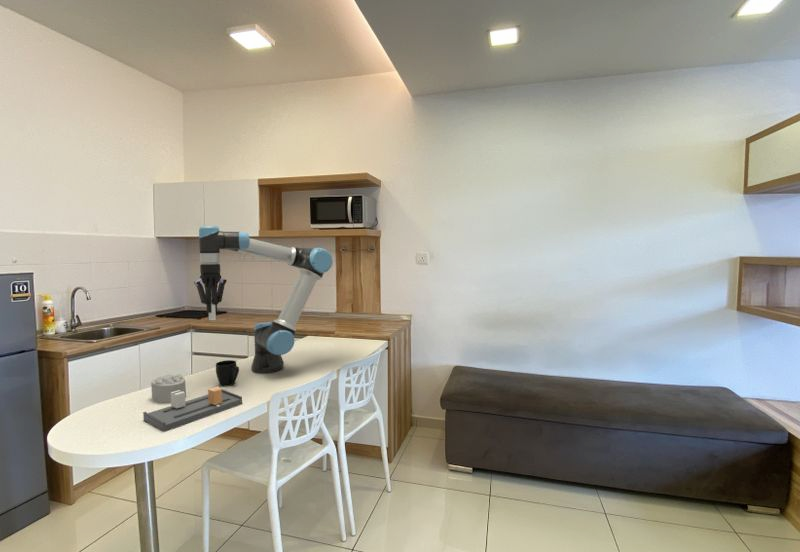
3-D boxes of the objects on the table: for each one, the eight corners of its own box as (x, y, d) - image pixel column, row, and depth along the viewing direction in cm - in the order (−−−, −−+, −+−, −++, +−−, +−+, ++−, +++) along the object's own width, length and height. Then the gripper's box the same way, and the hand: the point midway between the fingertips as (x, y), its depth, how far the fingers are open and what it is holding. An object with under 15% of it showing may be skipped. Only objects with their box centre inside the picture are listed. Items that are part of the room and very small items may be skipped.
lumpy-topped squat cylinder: (175, 391, 164) (174, 370, 164) (192, 397, 157) (191, 376, 157) (148, 399, 155) (147, 377, 155) (165, 406, 148) (164, 383, 148)
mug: (229, 390, 165) (228, 368, 164) (212, 385, 171) (211, 363, 170) (246, 384, 171) (245, 363, 171) (229, 379, 178) (228, 359, 177)
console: (220, 395, 159) (220, 388, 159) (242, 403, 150) (241, 396, 150) (143, 420, 136) (143, 412, 136) (163, 431, 128) (163, 423, 127)
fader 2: (216, 400, 148) (215, 386, 147) (222, 402, 145) (221, 388, 145) (208, 402, 145) (207, 388, 145) (214, 405, 143) (213, 391, 142)
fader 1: (180, 403, 145) (179, 389, 144) (185, 405, 142) (184, 391, 142) (171, 406, 142) (170, 391, 142) (176, 408, 140) (175, 394, 139)
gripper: (220, 262, 171) (222, 316, 172) (189, 264, 160) (192, 321, 162) (229, 263, 166) (231, 318, 168) (199, 264, 156) (201, 323, 157)
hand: (212, 319), depth 165 cm, fingers closed
